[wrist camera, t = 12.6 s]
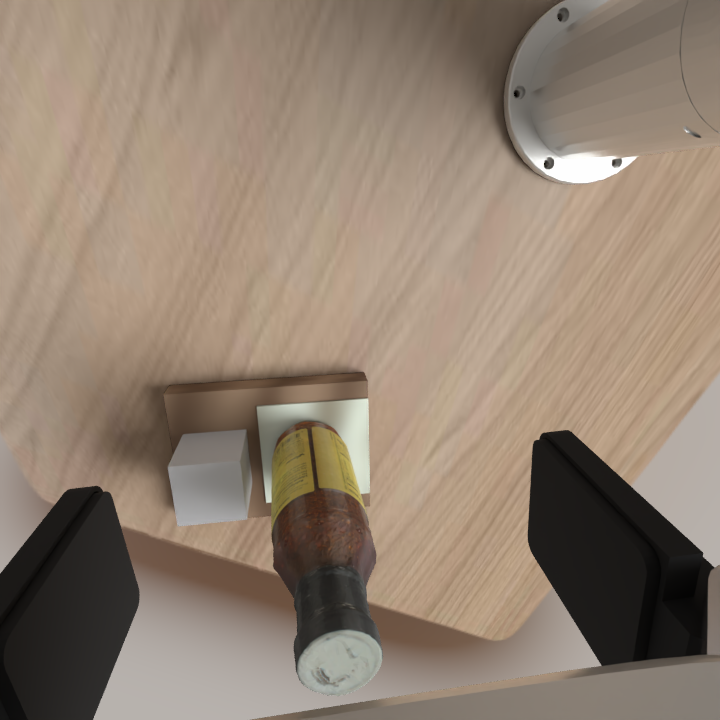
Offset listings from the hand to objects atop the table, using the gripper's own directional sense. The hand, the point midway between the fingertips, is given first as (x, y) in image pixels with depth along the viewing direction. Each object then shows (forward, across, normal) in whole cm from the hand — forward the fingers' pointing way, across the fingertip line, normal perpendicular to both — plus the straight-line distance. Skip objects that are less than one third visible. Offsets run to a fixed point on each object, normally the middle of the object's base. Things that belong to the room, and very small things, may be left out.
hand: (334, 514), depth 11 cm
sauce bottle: (+27, +2, +14) cm, 30 cm away
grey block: (+27, +9, +14) cm, 32 cm away
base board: (+29, +5, +14) cm, 32 cm away
